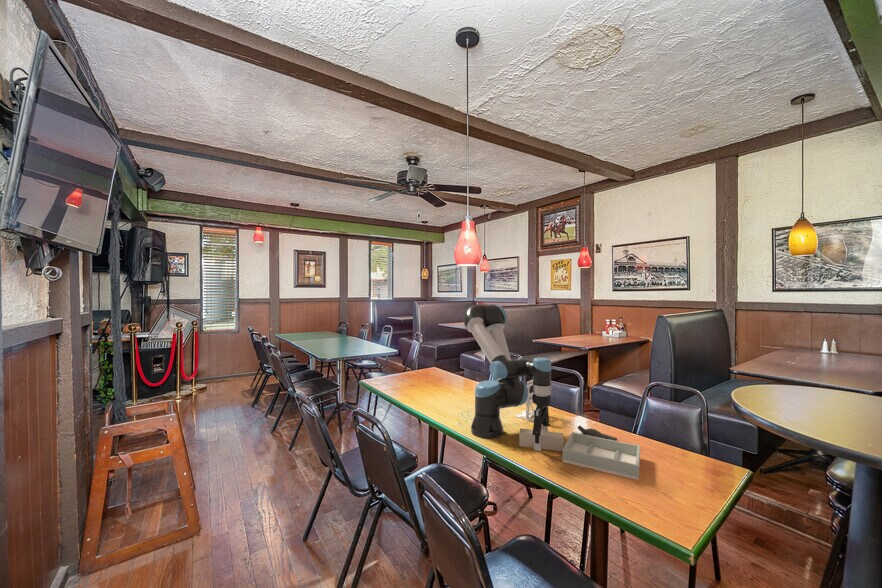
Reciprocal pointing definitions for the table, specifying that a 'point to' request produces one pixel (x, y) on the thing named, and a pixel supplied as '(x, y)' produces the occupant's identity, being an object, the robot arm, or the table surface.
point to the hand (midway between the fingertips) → (541, 445)
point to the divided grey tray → (603, 455)
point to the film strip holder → (528, 406)
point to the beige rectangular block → (542, 439)
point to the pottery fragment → (595, 433)
